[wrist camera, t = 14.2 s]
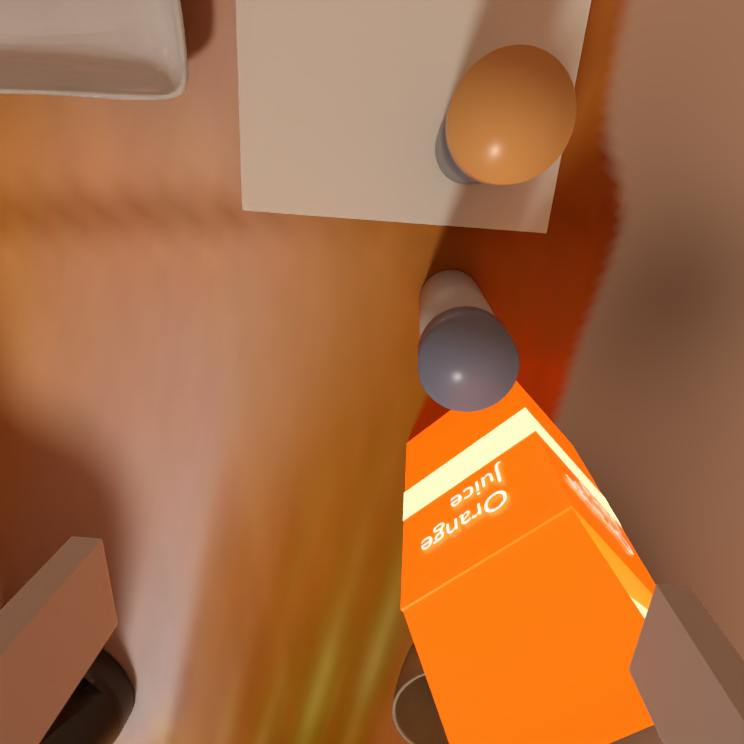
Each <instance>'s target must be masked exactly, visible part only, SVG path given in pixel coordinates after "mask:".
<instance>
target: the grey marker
mask: <svg viewBox="0 0 744 744" xmlns="http://www.w3.org/2000/svg"><path fill="white" fill-rule="evenodd" d="M419 314H420V340H419V345H418V373H419V378H420V381H421V384H422V386H423V388H424V389H425V391H426V392H427V394H428V395H429V396H430V397H431V398H432V399H433V400H434V401H435V402H437V403H438V404H440V405H441V406H443V407H446V408H448V409H451V410H454V411H460V412H474V411H479V410H483V409H486V408H488V407H491V406H493V405H494V404H496V403H498V402H499V401H500V400H502V399H503V398H504V397H505V396H506V395H507V394H508V393H509V391H510V390H511V389H512V387H513V385H514V384H515V381H516V379H517V376H518V372H519V355H518V351H517V348H516V346H515V344H514V342H513V340H512V338H511V337H510V335H509V333H508V332H507V330H506V329H505V327H504V325H503V324H502V323H501V322H500V320H499V319H498V318H497V317H496V316H495V315H494V313H493V311H492V310H491V308H490V306H489V305H488V303H487V301H486V299H485V298H484V296H483V294H482V293H481V291H480V289H479V288H478V286H477V284H476V283H475V281H474V280H473V279H472V278H471V277H470V276H469V275H467V274H466V273H464V272H461V271H458V270H444V271H440V272H438V273H436V274H434V275H432V276H431V277H430V278H429V279H428V280H427V281H426V282H425V284H424V285H423V287H422V289H421V292H420V297H419Z"/></svg>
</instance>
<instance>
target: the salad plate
mask: <svg viewBox="0 0 744 744" xmlns="http://www.w3.org/2000/svg"><path fill="white" fill-rule="evenodd" d="M187 82H188V61H187V48H186V37H185V30H184V22H183V15H182V8H181V1H180V0H0V94H42V95H61V96H77V97H91V98H105V99H117V100H165V99H172V98H176V97H178V96H180V95H181V94H182V93H183V92H184V90H185V89H186V86H187Z"/></svg>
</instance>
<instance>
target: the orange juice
mask: <svg viewBox="0 0 744 744" xmlns="http://www.w3.org/2000/svg"><path fill="white" fill-rule="evenodd" d="M403 521H404V530H403V556H402V583H401V602H400V604H401V611H402V612H403V613H404V615H405V618H406V621H407V624H408V627H409V630H410V633H411V635H412V638H413V641H414V644H415V647H416V650H417V653H418V656H419V658H420V661H421V664H422V667H423V670H424V673H425V676H426V678H427V681H428V684H429V687H430V690H431V693H432V696H433V698H434V701H435V704H436V707H437V710H438V713H439V716H440V718H441V721H442V724H443V727H444V730H445V733H446V736H447V739H448V741H449V744H609V743H611V742H614V741H616V740H618V739H621V738H623V737H625V736H628V735H630V734H632V733H635V732H637V731H640V730H642V729H644V728H647V727H649V726H652V725H654V723H653V721H652V719H651V717H650V715H649V713H648V710H647V708H646V706H645V704H644V702H643V700H642V698H641V695H640V693H639V691H638V689H637V687H636V685H635V683H634V680H633V678H632V676H631V674H630V672H629V667H630V663H631V660H632V657H633V654H634V651H635V648H636V645H637V642H638V639H639V636H640V632H641V629H642V626H643V623H644V620H645V617H646V614H647V611H648V608H649V605H650V602H651V598H652V595H653V592H654V589H655V586H656V585H655V583H654V581H653V580H652V578H651V576H650V575H649V573H648V571H647V570H646V568H645V566H644V565H643V563H642V561H641V560H640V559H639V556H638V555H637V553H636V551H635V550H634V548H633V546H632V545H631V543H630V541H629V540H628V538H627V536H626V534H625V533H624V531H623V529H622V528H621V527H622V526H621V524H620V523H619V521H618V519H617V517H616V516H615V514H614V513H613V511H612V509H611V508H610V506H609V504H608V502H607V501H606V499H605V498H604V496H602V494H601V492H600V491H599V489H598V487H597V486H596V484H595V482H594V481H593V479H592V477H591V476H590V474H589V472H588V471H587V469H586V467H585V466H584V464H583V462H582V460H581V459H580V457H579V455H578V454H577V452H576V450H575V449H574V447H573V445H572V444H571V443H570V442H569V441H568V440H567V438H566V437H565V436H564V435H563V434H562V433H561V431H560V430H559V429H558V428H557V427H556V426H555V425H554V423H553V422H552V421H551V420H550V419H549V418H548V417H547V415H546V414H545V413H544V412H543V411H542V410H541V409H540V407H539V406H538V405H537V404H536V403H535V402H534V400H533V399H532V398H531V397H530V396H529V395H528V394H527V392H526V391H525V390H524V389H523V388H522V387H521V386H520V384H519V383H518V382H517V381H515V384H514V385H513V387H512V389H511V390H510V391H509V393H508V394H507V395H506V396H505V397H504V398H503V399H502V400H500V401H499V402H498V403H496V404H494V405H493V406H491V407H488V408H486V409H483V410H479V411H474V412H460V411H454V410H450V411H449V412H448V413H446V414H445V415H443V416H442V417H441V418H439V419H438V420H437V421H435V422H434V423H433V424H431V425H430V426H429V427H427V428H426V429H425V430H423V431H422V432H421V433H419V434H418V435H417V436H415V437H414V438H413V439H411V440H410V441H409V442H407V450H406V477H405V492H404V504H403Z"/></svg>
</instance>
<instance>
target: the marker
mask: <svg viewBox="0 0 744 744" xmlns="http://www.w3.org/2000/svg"><path fill="white" fill-rule="evenodd" d="M576 113H577V100H576V93H575V89H574V85H573V82H572V80H571V78H570V75H569V73H568V72H567V70H566V69H565V67H564V66H563V65H562V64H561V62H560V61H559V60H558V59H557V58H555V57H554V56H553V55H552V54H550V53H549V52H547V51H545V50H543V49H541V48H538V47H535V46H531V45H522V44H519V45H509V46H505V47H501V48H499V49H496V50H494V51H492V52H490V53H488V54H486V55H485V56H483V57H482V58H481V59H479V60H478V61H477V62H476V63H475V64H474V65H473V66H472V67H471V68H470V69H469V70H468V71H467V72H466V74H465V75H464V77H463V78H462V80H461V81H460V83H459V85H458V87H457V89H456V91H455V93H454V96H453V98H452V100H451V102H450V105H449V108H448V112H447V116H446V119H445V121H444V123H443V125H442V127H441V129H440V131H439V133H438V136H437V139H436V143H435V156H436V160H437V163H438V166H439V168H440V170H441V171H442V172H443V174H444V175H445V176H446V177H447V178H449V179H450V180H452V181H454V182H456V183H459V184H465V185H469V184H482V183H484V184H489V185H506V184H516V183H521V182H524V181H528V180H530V179H532V178H534V177H536V176H538V175H540V174H541V173H543V172H544V171H545V170H547V169H548V168H549V167H550V166H551V165H552V164H553V163H554V162H555V161H556V160H557V159H558V158H559V156H560V155H561V154H562V152H563V151H564V149H565V148H566V146H567V144H568V142H569V140H570V138H571V135H572V132H573V129H574V125H575V121H576Z"/></svg>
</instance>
